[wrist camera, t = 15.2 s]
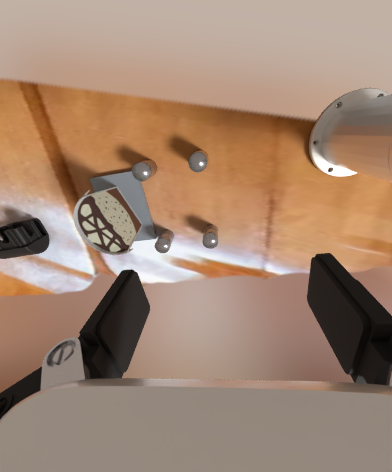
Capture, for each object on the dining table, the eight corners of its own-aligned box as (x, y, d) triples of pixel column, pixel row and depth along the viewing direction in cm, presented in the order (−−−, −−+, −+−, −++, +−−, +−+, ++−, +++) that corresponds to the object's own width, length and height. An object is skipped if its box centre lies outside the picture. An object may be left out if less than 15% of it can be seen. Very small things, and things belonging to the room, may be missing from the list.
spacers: (206, 148, 35) (205, 151, 31) (218, 236, 43) (218, 247, 39) (139, 160, 37) (129, 164, 33) (162, 241, 45) (156, 253, 41)
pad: (137, 169, 38) (135, 170, 37) (157, 236, 45) (155, 238, 44) (91, 177, 40) (89, 178, 39) (117, 241, 47) (115, 243, 46)
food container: (89, 192, 40) (54, 209, 32) (112, 179, 39) (81, 193, 30) (125, 240, 45) (102, 266, 36) (146, 230, 43) (128, 255, 34)
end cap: (24, 248, 51) (-2, 264, 45) (6, 224, 48) (-24, 237, 42) (56, 243, 49) (34, 258, 43) (40, 217, 46) (14, 230, 40)
